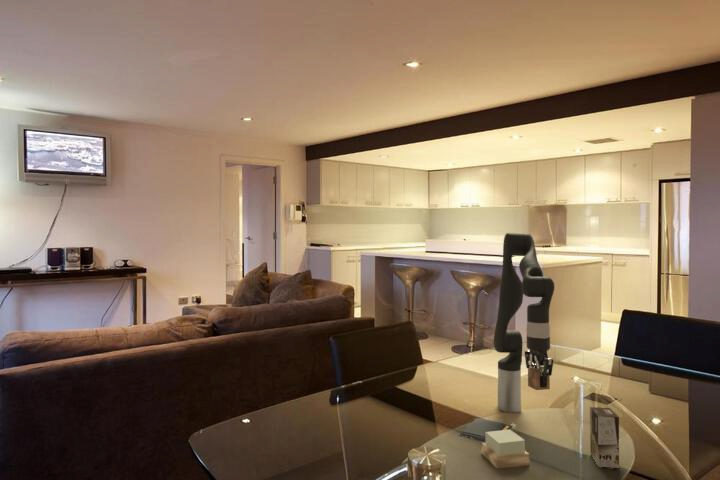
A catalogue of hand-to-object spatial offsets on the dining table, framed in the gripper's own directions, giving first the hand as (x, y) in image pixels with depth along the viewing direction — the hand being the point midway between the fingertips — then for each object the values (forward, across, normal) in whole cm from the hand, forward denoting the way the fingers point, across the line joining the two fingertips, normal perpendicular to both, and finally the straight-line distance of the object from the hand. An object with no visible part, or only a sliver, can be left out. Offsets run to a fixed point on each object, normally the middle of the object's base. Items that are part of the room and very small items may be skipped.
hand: (538, 384), depth 162 cm
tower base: (+22, +4, -15) cm, 27 cm away
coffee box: (+22, +13, +15) cm, 30 cm away
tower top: (+18, +5, -15) cm, 24 cm away
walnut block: (+1, 0, 0) cm, 1 cm away
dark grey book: (+22, -18, -11) cm, 31 cm away
